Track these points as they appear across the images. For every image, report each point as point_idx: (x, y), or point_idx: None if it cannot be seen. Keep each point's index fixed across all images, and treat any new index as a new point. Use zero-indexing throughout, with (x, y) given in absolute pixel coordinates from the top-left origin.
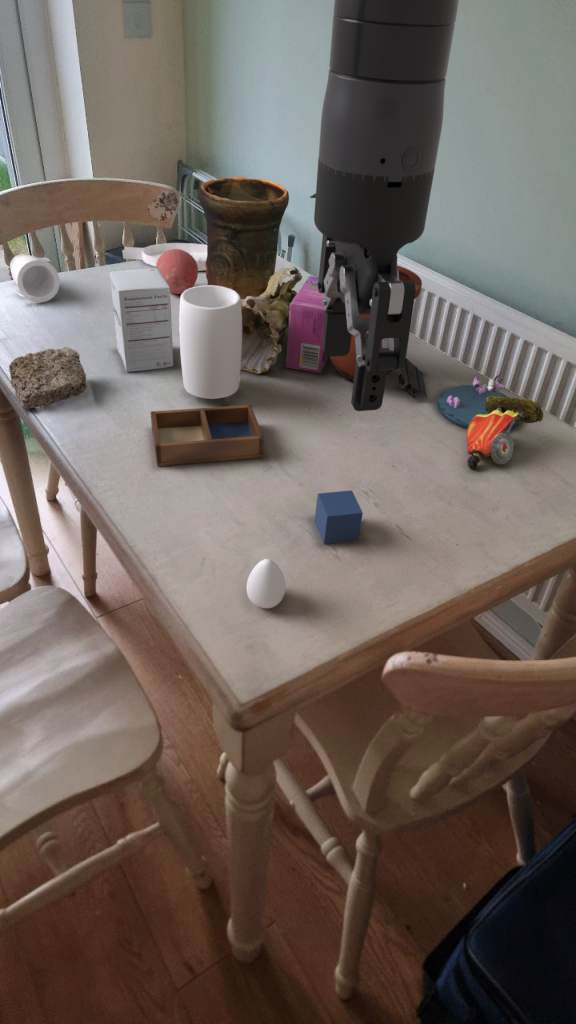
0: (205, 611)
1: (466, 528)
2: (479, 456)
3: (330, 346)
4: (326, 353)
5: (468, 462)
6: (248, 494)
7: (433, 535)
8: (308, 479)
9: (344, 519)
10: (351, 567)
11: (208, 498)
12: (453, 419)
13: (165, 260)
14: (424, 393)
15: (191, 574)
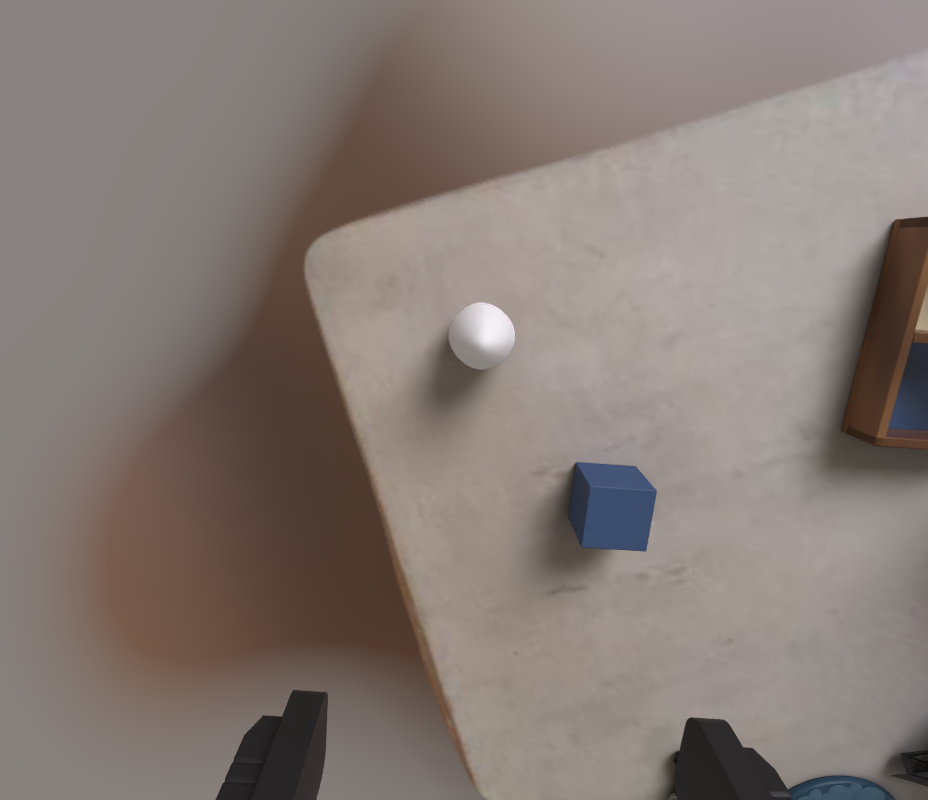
0: (481, 229)
1: (545, 681)
2: None
3: (702, 761)
4: (694, 725)
5: None
6: (744, 375)
7: (545, 630)
8: (746, 492)
9: (583, 512)
10: (512, 485)
11: (759, 300)
12: (812, 787)
13: None
14: (907, 777)
15: (570, 224)
